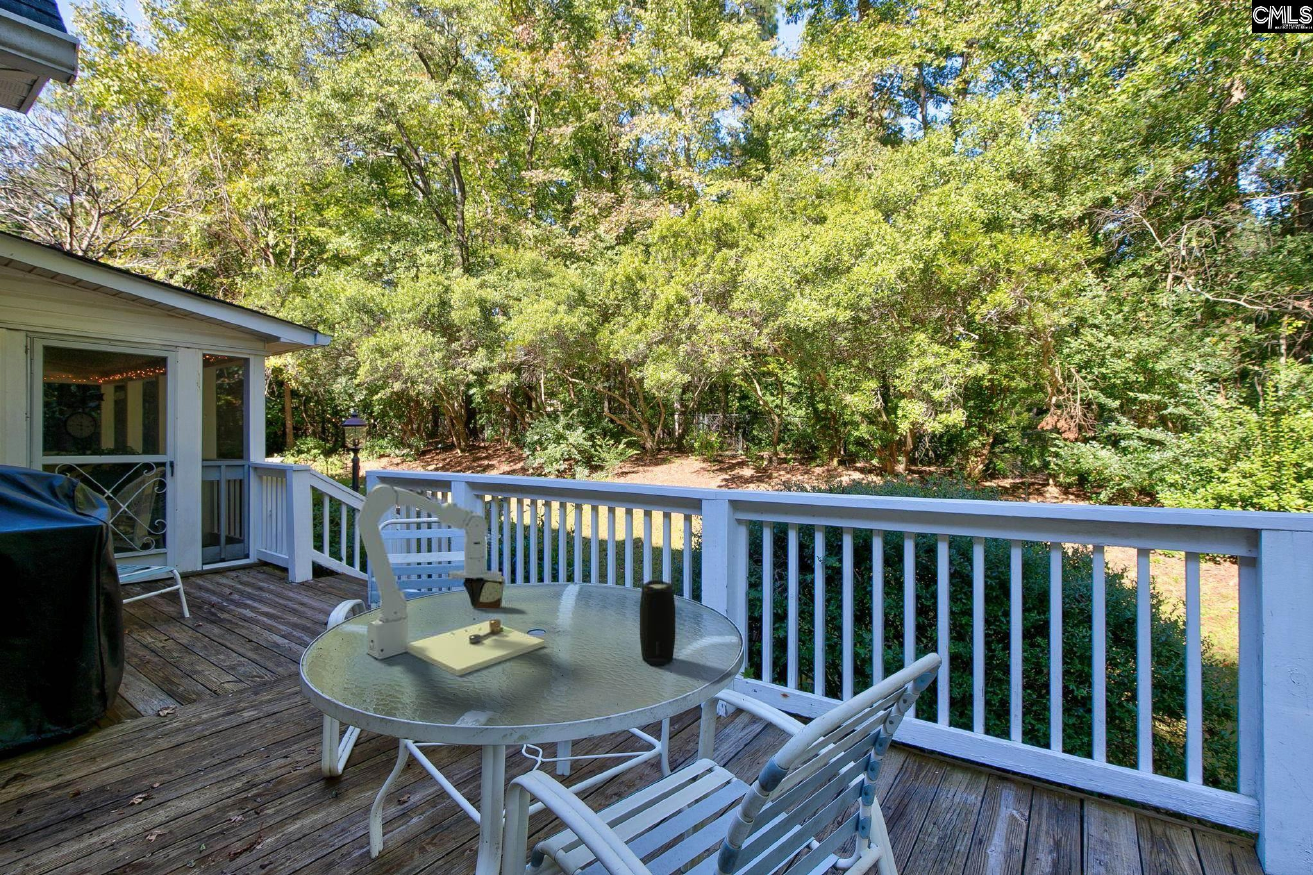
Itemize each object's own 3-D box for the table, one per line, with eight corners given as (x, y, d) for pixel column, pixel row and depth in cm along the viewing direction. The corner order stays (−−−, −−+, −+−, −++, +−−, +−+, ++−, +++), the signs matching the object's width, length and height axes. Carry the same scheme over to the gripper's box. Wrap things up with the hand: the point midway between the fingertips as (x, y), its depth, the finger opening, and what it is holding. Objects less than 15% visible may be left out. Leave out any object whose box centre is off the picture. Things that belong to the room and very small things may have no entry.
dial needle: (475, 644, 157) (475, 632, 157) (466, 642, 158) (466, 630, 158) (506, 629, 168) (506, 618, 168) (497, 628, 169) (497, 617, 169)
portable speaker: (647, 652, 156) (647, 577, 156) (680, 657, 152) (681, 581, 152) (633, 663, 148) (633, 585, 148) (668, 669, 144) (668, 589, 144)
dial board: (457, 676, 140) (457, 669, 140) (404, 650, 157) (404, 644, 157) (544, 646, 160) (544, 640, 160) (488, 625, 177) (488, 620, 177)
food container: (511, 604, 200) (511, 574, 200) (504, 609, 194) (504, 579, 194) (475, 603, 201) (475, 573, 201) (468, 608, 195) (468, 578, 195)
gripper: (505, 554, 170) (505, 601, 170) (456, 553, 171) (456, 600, 171) (496, 559, 163) (496, 608, 163) (445, 558, 164) (445, 607, 164)
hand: (475, 605), depth 166 cm, fingers closed
